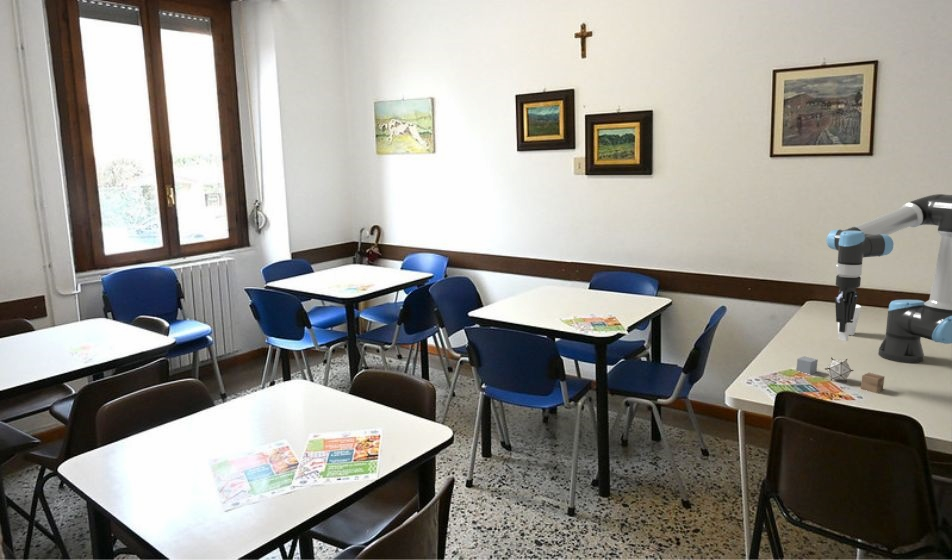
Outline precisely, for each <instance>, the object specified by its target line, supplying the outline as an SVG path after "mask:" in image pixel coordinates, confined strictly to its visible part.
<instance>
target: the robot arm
mask: <svg viewBox="0 0 952 560" xmlns="http://www.w3.org/2000/svg"><path fill="white" fill-rule="evenodd" d="M925 225H928V226H937V233H939V234H940V237H941V239H940V244H939V247H938V248H939V249H938V254H937V259H936V263H935V269H934V274H933V279H932V284H931V289H930V294H929V298H928V300H926V301H924V300H920V299H895V300H891V301H890V303H889V304H888V310H887V317H886V318H887V320H886V326H885V327H886V328H885V336H884V339H883V340H882V342H881V344H880V346H879V347H878V356H879V357H881V358H884V359H886V360H890V361H894V362H900V363H908V364H909V363H910V364H911V363H921V362H923V361H924V356H925V354H924V350H923V346H922V342H921V341H922V340H921V339H922V338H923V339H925V340H929V341H933V342H934V343H941V344H945V345H949V344H952V194H942V193H940V194H932V195H926V196H923V197H921V198H920V197H919V198H917V199H915V200H914V199H913V200H911V201H908V202H906V203H904V204H902V206H901V207H900V208H898V209H895V210H893V211H890V212H887V213H885V214H882V215H879V216H878V217H875V218H873V219H870V220H867V221H865V222H862V223H860V224H857V225H854V226H852V227H849V228H846V229H832V230H830V231H829V233H828V234H827V236H826V245H827V246H828V248H830V249H832V250H835V251H838V252H837V264H836V265H835V267H836V274H837V275H836V276H835V286H836V287H839V291H838V296H834V298H833V300H834V303H835V322H836V323H838V322H839V333H838V335H837V336H838V337H837V339H838V341H842V342H848V341H849V336H848V334H849V322H850V323H852V322H853V321H851V320H853V317H854V312H855V307H856V304H857V302H858V298H859V296H860V293H859V292H856V291H857V290H856V289H858V288H860V287H861V279H862V278H861V276H862V271H863V269H862V268H863V258H872V257H882V256H887V255H889V254H890V253H892V252H893V250H894V244H895V243H894V241H893V239H892V237H891V236H889V235H891V234H893V233H897V232H899V231H901V230H904V229H907V228H909V227H911V228H916V227H919V226H925Z"/></svg>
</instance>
